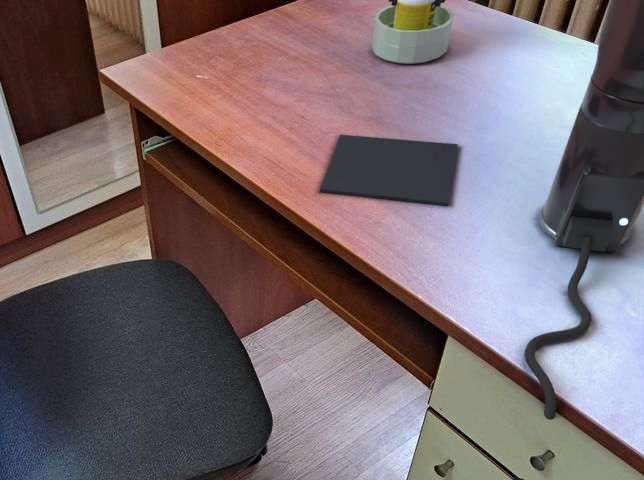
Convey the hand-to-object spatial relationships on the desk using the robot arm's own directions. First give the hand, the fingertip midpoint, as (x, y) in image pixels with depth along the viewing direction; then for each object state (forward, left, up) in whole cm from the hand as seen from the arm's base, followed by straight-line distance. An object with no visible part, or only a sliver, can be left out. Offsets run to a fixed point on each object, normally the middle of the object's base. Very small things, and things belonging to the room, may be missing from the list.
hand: (416, 4), depth 106 cm
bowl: (0, 0, -7) cm, 7 cm away
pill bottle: (0, 0, -7) cm, 7 cm away
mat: (-37, -2, -7) cm, 38 cm away
